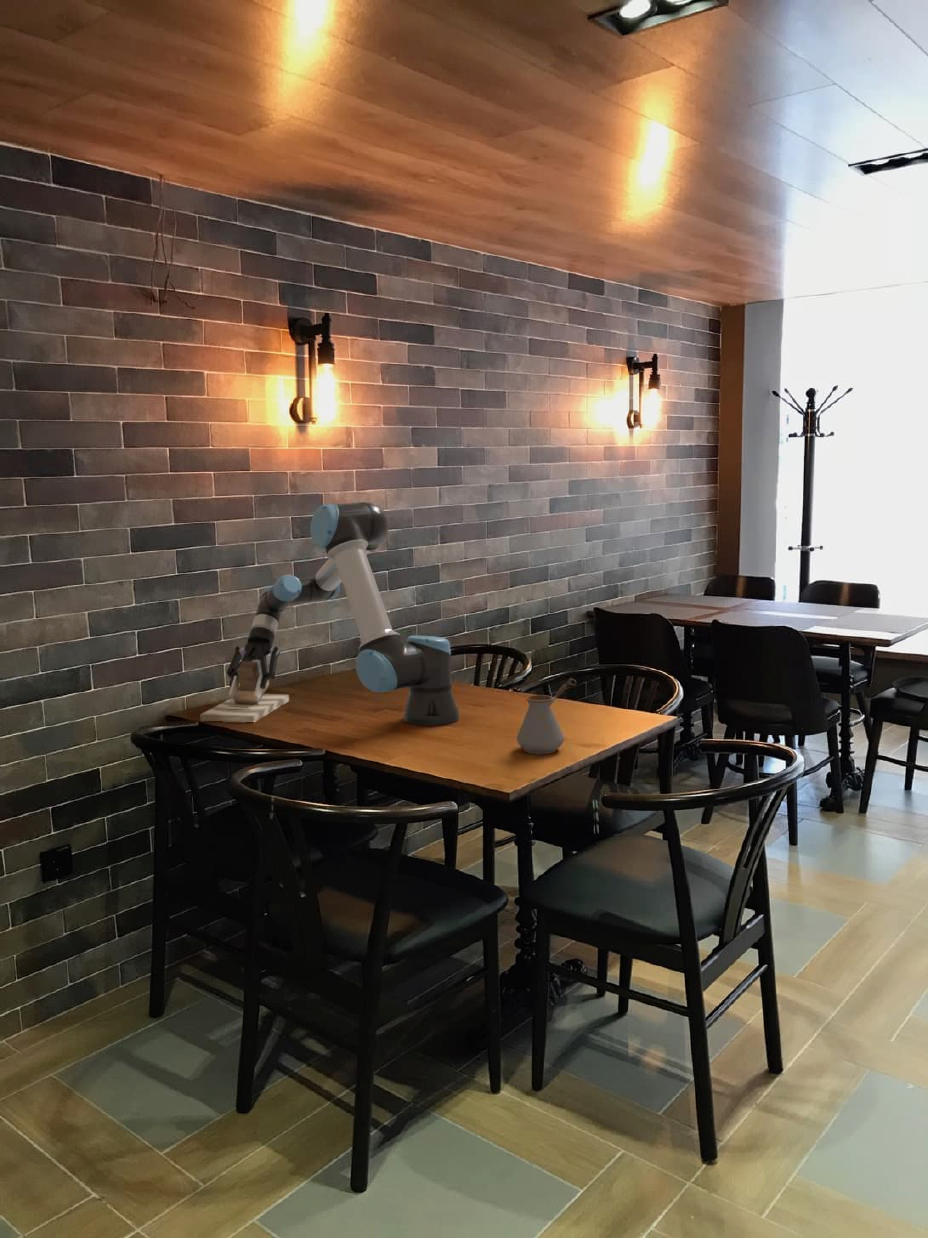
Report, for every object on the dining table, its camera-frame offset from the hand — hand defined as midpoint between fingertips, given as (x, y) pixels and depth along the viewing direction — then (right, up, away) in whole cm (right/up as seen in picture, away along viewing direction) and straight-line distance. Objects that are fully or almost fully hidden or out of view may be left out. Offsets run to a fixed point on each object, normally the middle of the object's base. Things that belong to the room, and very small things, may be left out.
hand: (244, 697), depth 284 cm
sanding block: (+1, 0, +6) cm, 6 cm away
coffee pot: (+85, -9, -44) cm, 96 cm away
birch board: (0, -4, +2) cm, 5 cm away
